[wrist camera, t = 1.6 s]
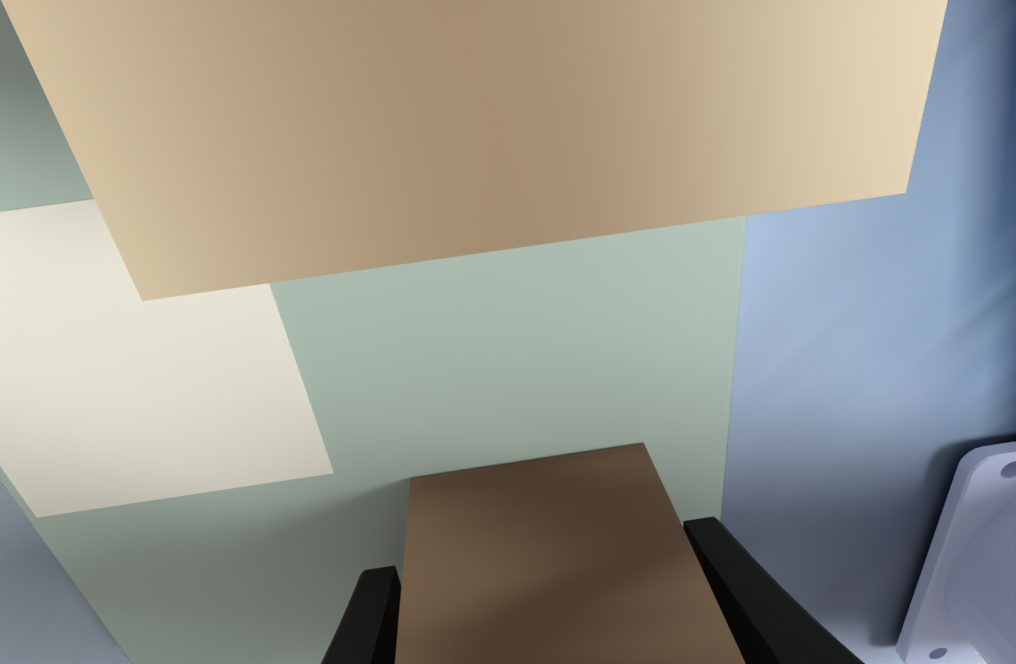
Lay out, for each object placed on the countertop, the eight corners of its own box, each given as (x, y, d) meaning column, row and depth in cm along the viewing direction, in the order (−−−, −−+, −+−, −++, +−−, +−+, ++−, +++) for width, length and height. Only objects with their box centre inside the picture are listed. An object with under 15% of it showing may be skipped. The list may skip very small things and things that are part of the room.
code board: (761, -429, 7) (809, -500, 6) (697, 568, 15) (713, 603, 14) (-448, -289, 6) (-597, -341, 5) (169, 650, 14) (151, 691, 14)
